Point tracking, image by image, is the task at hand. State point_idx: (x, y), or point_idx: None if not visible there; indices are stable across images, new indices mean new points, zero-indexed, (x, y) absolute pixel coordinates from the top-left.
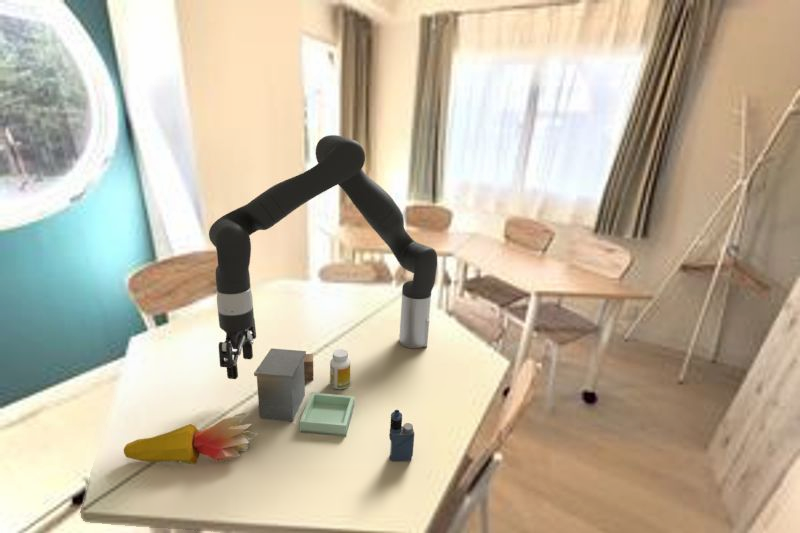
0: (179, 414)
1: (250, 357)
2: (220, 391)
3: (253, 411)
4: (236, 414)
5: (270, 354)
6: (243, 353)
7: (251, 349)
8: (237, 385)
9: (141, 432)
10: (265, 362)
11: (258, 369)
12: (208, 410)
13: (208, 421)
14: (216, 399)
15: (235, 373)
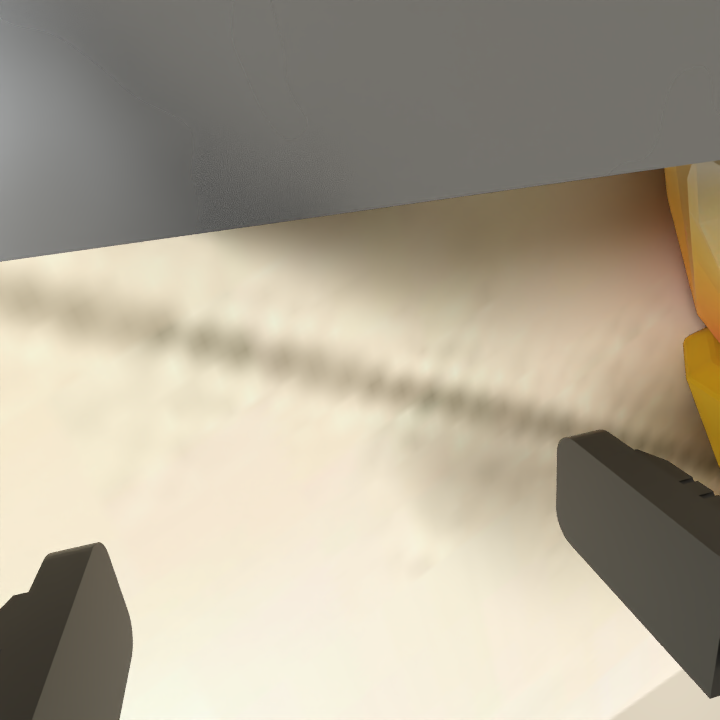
0: (470, 597)
1: (96, 570)
2: (230, 555)
3: (357, 234)
4: (697, 221)
5: (5, 152)
6: (116, 711)
7: (27, 686)
8: (127, 504)
9: (598, 637)
10: (429, 90)
11: (709, 114)
12: (412, 497)
13: (495, 437)
14: (310, 524)
15: (649, 475)
